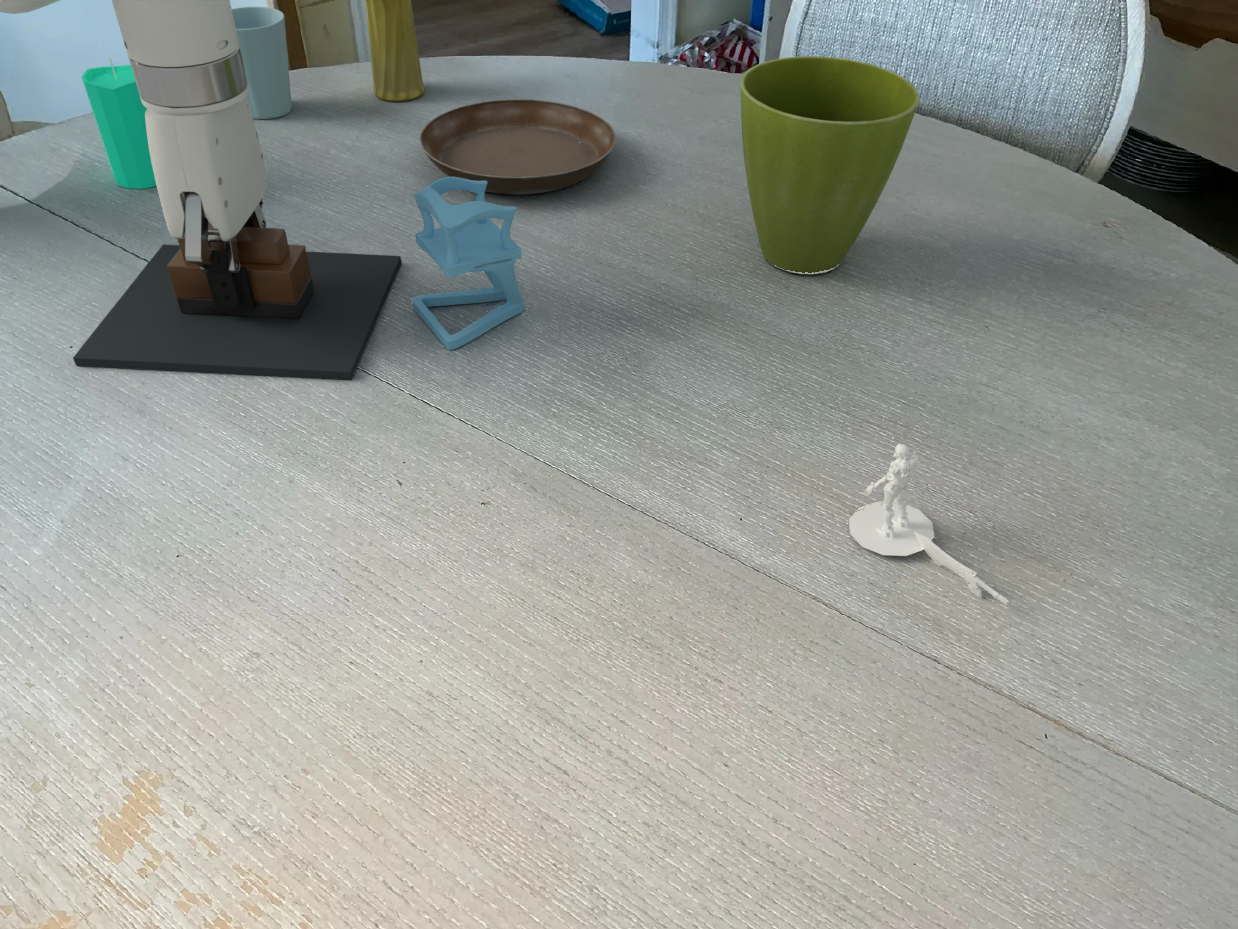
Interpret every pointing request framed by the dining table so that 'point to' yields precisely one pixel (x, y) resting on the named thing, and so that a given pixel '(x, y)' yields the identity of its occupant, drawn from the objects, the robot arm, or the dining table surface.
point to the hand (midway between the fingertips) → (246, 291)
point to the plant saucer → (518, 144)
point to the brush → (251, 275)
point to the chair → (468, 255)
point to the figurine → (904, 523)
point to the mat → (247, 325)
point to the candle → (121, 123)
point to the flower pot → (819, 152)
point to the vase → (394, 50)
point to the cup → (264, 60)
